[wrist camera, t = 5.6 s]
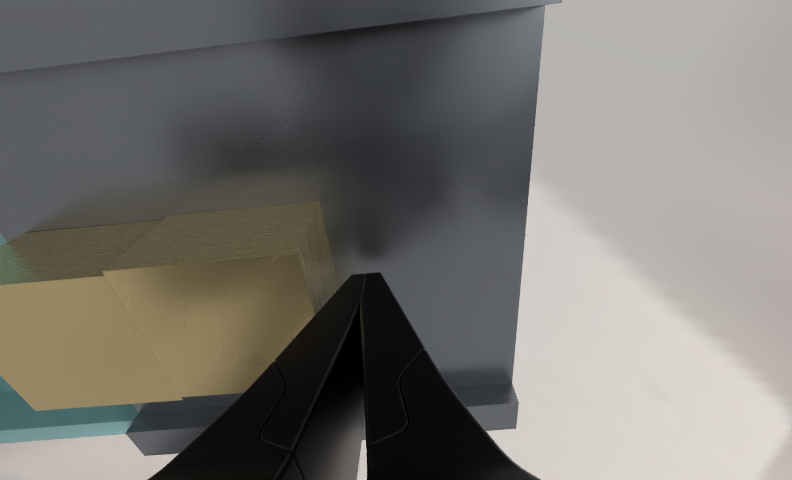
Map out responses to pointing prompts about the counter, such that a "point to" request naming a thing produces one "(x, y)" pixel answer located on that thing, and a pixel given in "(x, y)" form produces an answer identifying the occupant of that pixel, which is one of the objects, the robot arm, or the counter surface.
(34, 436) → the tray
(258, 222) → the tan square block
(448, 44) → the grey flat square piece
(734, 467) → the counter surface
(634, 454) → the counter surface
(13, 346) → the chip
